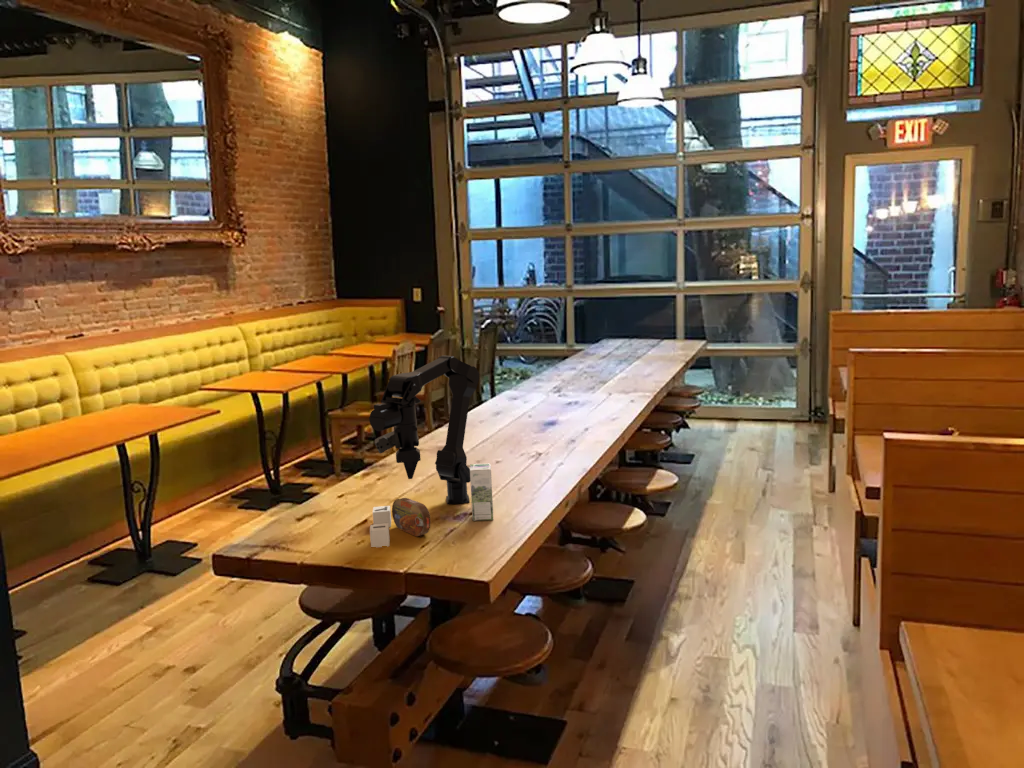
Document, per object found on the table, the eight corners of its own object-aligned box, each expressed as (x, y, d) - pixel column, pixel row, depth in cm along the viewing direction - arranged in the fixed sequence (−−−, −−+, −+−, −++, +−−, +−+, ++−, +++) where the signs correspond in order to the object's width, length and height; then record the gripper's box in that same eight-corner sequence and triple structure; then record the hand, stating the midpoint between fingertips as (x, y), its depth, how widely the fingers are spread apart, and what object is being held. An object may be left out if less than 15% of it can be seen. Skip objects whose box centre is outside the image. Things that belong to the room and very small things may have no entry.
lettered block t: (374, 522, 224) (373, 506, 223) (391, 521, 225) (390, 505, 224) (373, 528, 220) (372, 511, 219) (390, 527, 220) (389, 510, 220)
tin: (392, 526, 221) (389, 495, 220) (402, 523, 223) (399, 493, 222) (423, 540, 210) (421, 508, 208) (433, 537, 212) (431, 505, 210)
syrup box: (493, 513, 227) (490, 462, 225) (493, 520, 221) (490, 468, 219) (472, 514, 227) (469, 463, 224) (472, 521, 221) (469, 469, 219)
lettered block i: (372, 541, 211) (370, 524, 210) (389, 540, 211) (388, 522, 210) (371, 548, 206) (369, 530, 205) (389, 546, 207) (387, 528, 206)
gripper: (375, 417, 227) (380, 471, 230) (373, 433, 209) (379, 492, 212) (416, 413, 229) (420, 467, 232) (418, 429, 211) (422, 488, 214)
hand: (410, 478), depth 222 cm, fingers closed
